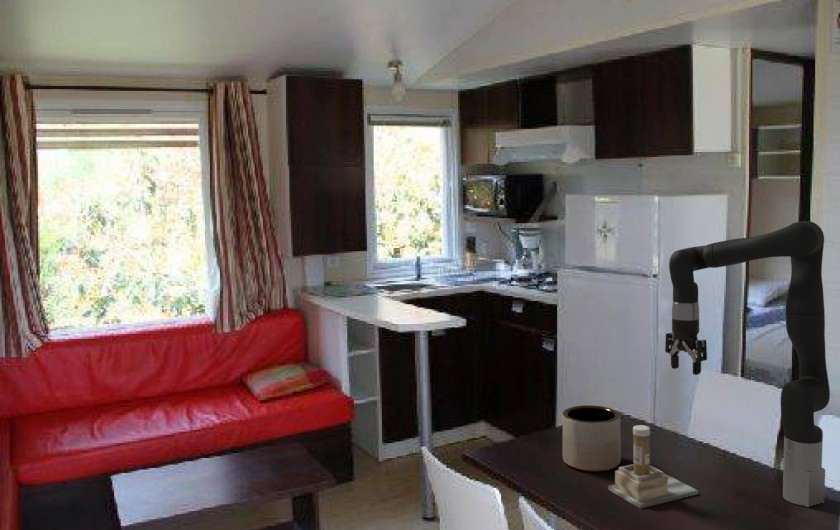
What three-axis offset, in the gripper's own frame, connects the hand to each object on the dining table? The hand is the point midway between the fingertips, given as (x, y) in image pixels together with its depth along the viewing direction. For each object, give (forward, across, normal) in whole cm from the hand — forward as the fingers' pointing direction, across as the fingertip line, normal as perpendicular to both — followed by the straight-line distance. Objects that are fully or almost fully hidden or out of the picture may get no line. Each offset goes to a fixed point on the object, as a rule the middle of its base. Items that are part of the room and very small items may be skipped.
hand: (685, 371), depth 221 cm
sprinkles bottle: (+25, -6, +22) cm, 34 cm away
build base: (+31, -6, +18) cm, 36 cm away
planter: (+31, +20, +19) cm, 42 cm away
